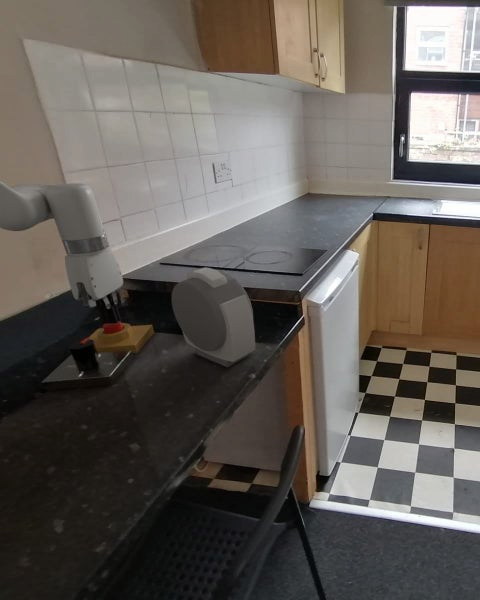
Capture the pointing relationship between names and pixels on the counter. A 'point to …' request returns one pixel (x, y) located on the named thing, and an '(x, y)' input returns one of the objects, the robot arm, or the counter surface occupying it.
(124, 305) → the counter surface
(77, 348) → the dial
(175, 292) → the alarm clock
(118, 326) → the press knob
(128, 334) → the knob block
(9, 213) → the robot arm
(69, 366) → the dial plate
